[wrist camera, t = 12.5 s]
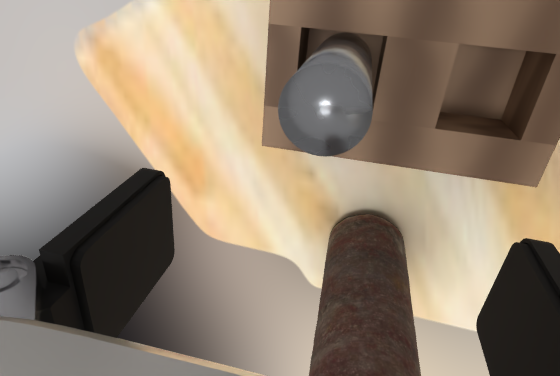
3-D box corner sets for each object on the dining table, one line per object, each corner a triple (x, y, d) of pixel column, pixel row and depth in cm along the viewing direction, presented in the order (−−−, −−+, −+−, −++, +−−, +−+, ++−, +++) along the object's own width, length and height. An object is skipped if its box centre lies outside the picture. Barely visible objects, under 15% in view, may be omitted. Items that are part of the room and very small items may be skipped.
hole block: (573, -6, 26) (623, -2, 21) (509, 154, 32) (536, 187, 27) (288, -30, 29) (271, -32, 24) (277, 121, 35) (261, 145, 30)
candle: (345, 195, 37) (325, 380, 20) (417, 221, 37) (460, 431, 20) (319, 253, 41) (283, 450, 24) (384, 276, 41) (395, 493, 24)
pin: (376, 35, 29) (381, 69, 17) (366, 93, 31) (363, 162, 19) (318, 29, 29) (281, 58, 17) (311, 87, 31) (275, 149, 19)
